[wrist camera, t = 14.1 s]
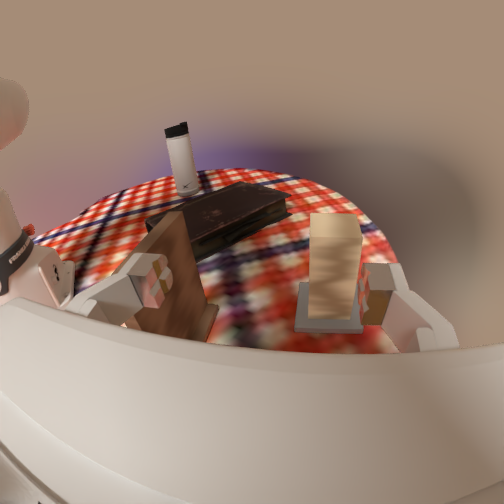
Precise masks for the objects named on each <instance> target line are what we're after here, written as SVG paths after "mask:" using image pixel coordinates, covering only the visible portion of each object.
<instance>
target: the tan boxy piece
mask: <svg viewBox="0 0 504 504" xmlns="http://www.w3.org/2000/svg"><path fill="white" fill-rule="evenodd" d="M362 240H363V237H362V233H361V230H360V226H359V223H358V219H357V216H356V214H337V213H311V214H310V263H309V304H308V319H344V320H350V317H351V312H352V307H353V301H354V295H355V290H356V283H357V277H358V270H359V263H360V256H361V248H362Z"/></svg>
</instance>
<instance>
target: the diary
mask: <svg viewBox="0 0 504 504" xmlns="http://www.w3.org/2000/svg"><path fill="white" fill-rule="evenodd" d="M290 196H291V194H288V193H285V192H282V191H278V190H275V189H272V188H268V187H265V186H260V185H256V184H251V183H245V182H241V181H239V182H237V183H234V184H232V185H229V186H227V187H224V188H222V189H219V190H217V191H214V192H211V193H208V194H205V195H202V196H200V197H197V198H194V199H192V200H189V201H187V202H185V203H183V204H180V205H178V206H176V207H174V208H172V209H169V210H166V211H164V212H161V213H159V214H156V215H153V216H151V217H148V218H146V219H145V224H146V228H147V231H148V233H149V232H150V231H151V230H152V229H153V228H154V227H155V226H156V225H157V224H158V223H159V222H160V221H161V220H162V219H163V218H164V217H165V216H166V215H167V214H168V213H169V212H174V211H183V216H184V220H185V224H186V228H187V232H188V236H189V239H190V243H191V247H192V251H193V255H194V258H195V262H196V263H198V262H200V261H202V260H204V259H206V258H208V257H210V256H212V255H214V254H216V253H218V252H220V251H221V250H223V249H225V248H227V247H229V246H231V245H233V244H235V243H237V242H238V241H240V240H242V239H244V238H247V237H249V236H251V235H253V234H255V233H257V232H259V231H257V230H259V229H261V228H263V227H265V226H268V225H270V224H273V223H276V222H278V221H281V220H283V219H285V218H287V217H289V216H291V215H293V214H291V213H288V212H286V205H285V198H288V197H290ZM255 231H257V232H255ZM260 231H261V230H260Z"/></svg>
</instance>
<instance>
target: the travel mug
mask: <svg viewBox="0 0 504 504" xmlns="http://www.w3.org/2000/svg"><path fill="white" fill-rule="evenodd" d="M165 134H166V140H167V141H166V142H167V147H168V152H169V156H170V161H171V166H172V170H173V175H174V180H175V184H176V188H177V193H178V195H179V196H182V197H185V196H190V195H194V194H196V193H197V192H198V191H199V185H198V179H197V174H196V169H195V164H194V159H193V153H192V147H191V143H190V137H189V132H188V126H187V122H183V123H180V125H176V126H173V127H170V128H167V129H165Z"/></svg>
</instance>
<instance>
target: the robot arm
mask: <svg viewBox="0 0 504 504" xmlns="http://www.w3.org/2000/svg"><path fill="white" fill-rule="evenodd" d="M28 114H29V101H28V97H27V94H26V92H25V90H24V89H23V87H22V86H21V85H20V84H18V83H17V82H15V81H13V80H8V79H3V78H0V151H1V150H2V149H3V148H5V147H6V146H7V145H8V144H10V143H11V142H12V141H13V140H15V139H16V138H17V137H18V136H19V135H21V134H22V132H23V130H24V128H25V126H26V123H27V119H28ZM34 230H35V229H34V227H33V225H32V224H29V225H28V226H26V227H23V230H22V229H21V227H20V225H19V223H18V220H17V218H16V215H15V212H14V210H13V207H12V205H11V202H10V199H9V196H8V194H7V193H6V191H5V190H4V189H2V188H1V187H0V504H504V342H502V343H496V344H491V345H483V346H477V347H469V348H461V349H460V346H459V343H458V340H457V337H456V334H455V331H454V328H453V325H452V324H451V323H449V322H448V321H447V320H446V319H445V318H444V317H443V316H442V315H441V314H439V313H438V312H437V311H436V310H435V309H434V308H433V307H431V306H430V305H429V304H428V303H427V302H425V301H424V300H423V299H422V298H421V297H420V296H418V295H417V294H416V293H415V292H414V291H410V290H409V287H408V284H407V281H406V278H405V276H404V273H403V270H402V267H401V265H400V264H399V263H387V264H384V263H363V264H362V268H361V275H362V278H361V279H360V280H359V284H358V293H357V296H358V304H359V305H360V310H359V315H360V324H361V325H380V326H381V327H382V329H383V330H384V331H385V332H386V334H387V335H388V336H389V338H390V339H391V340H392V342H393V343H394V344H395V346H396V347H397V348H398V350H399V351H400V352H401V353H393V354H326V353H304V352H289V351H276V350H264V349H254V348H245V347H236V346H228V345H220V344H213V343H206V342H200V341H193V340H187V339H181V338H175V337H170V336H165V335H159V334H154V333H149V332H144V331H140V330H135V329H131V328H126V327H122V326H120V325H122V324H123V323H124V322H125V321H127V320H128V319H129V318H130V317H132V316H133V315H134V314H135V313H137V312H138V311H139V310H141V309H142V308H143V307H150V308H160V306H161V304H162V302H163V301H164V299H165V296H164V294H165V293H167V292H168V291H169V290H170V288H171V287H172V282H173V276H172V272H171V270H170V269H169V268H168V267H167V264H168V260H167V257H166V256H165V255H163V254H151V253H134V254H133V255H132V256H131V258H130V259H129V260H128V261H127V262H126V264H125V265H124V266H123V267H122V268H121V270H120V271H119V272H118V273H117V274H113V275H111V276H109V277H108V278H106V279H104V280H102V281H100V282H98V283H97V284H95V285H93V286H91V287H89V288H88V289H86V290H84V291H82V292H81V293H79V294H77V295H76V296H75V297H74V298H73V294H74V276H75V263H74V262H73V261H61V259H60V257H59V255H58V253H57V252H56V250H55V249H53V248H50V247H44V246H39V245H35V244H34V243H33V241H32V240H31V239H30V238H29V236H30V235H33V234H34V233H35V231H34Z"/></svg>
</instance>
